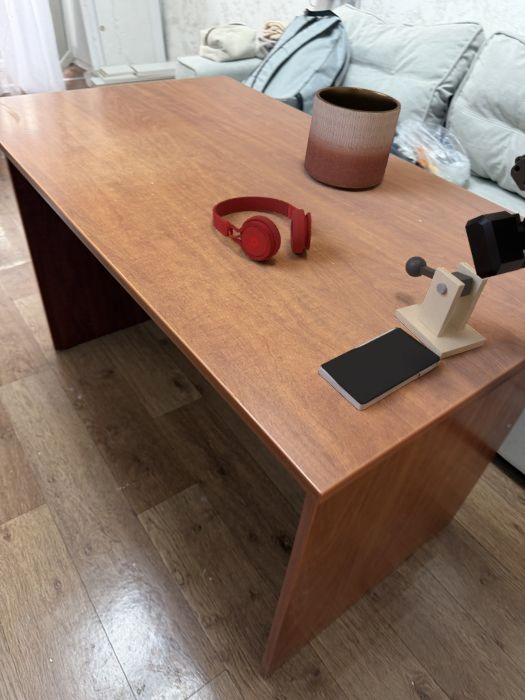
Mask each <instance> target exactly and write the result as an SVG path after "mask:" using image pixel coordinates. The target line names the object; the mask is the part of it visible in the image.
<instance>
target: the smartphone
mask: <svg viewBox="0 0 525 700" xmlns="http://www.w3.org/2000/svg"><path fill="white" fill-rule="evenodd" d="M440 362H441V359H440V357H439V356H438V355H437V354H435V353H434V352H433V351H431V350H430V349H429V348H427V347H426V346H425V345H424V344H423V343H422V342H421V341H420V340H419V339H417V338H415V337H414V336H413V335H411V334H410V333H408V332H407V331H406V330H404V329H403V328H401V327H398V326H396V327H393V328H391V329H389V330H388V331H385V332H383V333H381V334H379V335H377V336H375V337H373V338H372V339H369V340H367V341H366V342H364V343H362V344H360V345H357V346H355V347H354V348H351V349H350V350H347V351H345V352H343V353H342V354H339V355H337V356H335V357H333V358H332V359H329V360H328V361H326V362H324V363H321V364H320V366H319V368H318V374H319V375H320V376H321V377H322V378H324V380H325V381H326V382H327V383H328V384H330V385H331V386H332V387H333V388H334V389H335V390H336V391H337V392H338V393H339V394H340V395H341V396H342V397H344V399H346V400H347V401H348V402H349V403H350V404H351V405H352V406H353V407H354V408H356V409H357V410H358V411H364V410H366V409H368V408H369V407H371V406H372V405H374V404H377V402H379V401H381V400H383V399H384V398H386V397H387V396H389V395H391V394H393V393H394V392H396V391H397V390H399V389H401V388H403V387H404V386H406V385H408V384H410V383H411V382H413V381H414V380H416V379H418V378H420V377H421V376H424V375H425V374H427V373H429V372H431V371H432V370H433V369H435V368H436V367H438V366H439V364H440Z"/></svg>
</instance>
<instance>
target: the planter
mask: <svg viewBox="0 0 525 700" xmlns="http://www.w3.org/2000/svg"><path fill="white" fill-rule="evenodd" d="M401 110H402V104H401V102H400V101H399V100H398V99H396V98H395V97H393V96H391V95H388V94H386V93H383V92H381V91H376V90H372V89H368V88H362V87H354V86H344V85H343V86H341V85H340V86H338V85H337V86H327V87H322V88H320V89H318V90H316V92H315V94H314V99H313V107H312V114H311V120H310V124H309V130H308V131H309V132H308V137H307V142H306V143H307V144H306V149H305V155H304V165H303V166H304V169H305V171H306V172H307V174H308V175H309V176H310V177H312V178H313V179H314V180H316V181H317V182H319V183H321V184H324V185H327V186H330V187H335V188H339V189H346V190H362V189H369V188H372V187H374V186H377V185H378V184H380V183H381V182H382V181H383V180H384V177H385V173H386V170H387V166H388V162H389V158H390V154H391V150H392V146H393V141H394V138H395V134H396V130H397V126H398V122H399V117H400V114H401Z"/></svg>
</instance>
